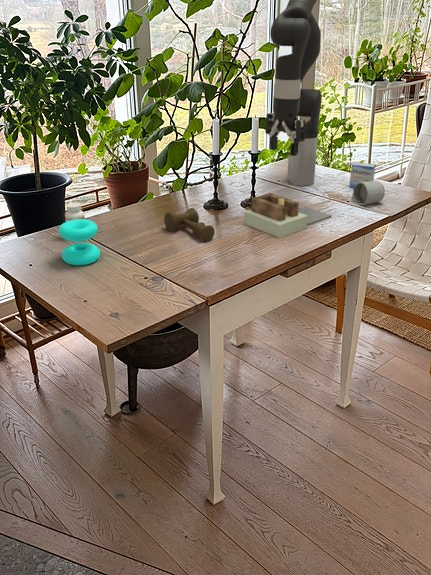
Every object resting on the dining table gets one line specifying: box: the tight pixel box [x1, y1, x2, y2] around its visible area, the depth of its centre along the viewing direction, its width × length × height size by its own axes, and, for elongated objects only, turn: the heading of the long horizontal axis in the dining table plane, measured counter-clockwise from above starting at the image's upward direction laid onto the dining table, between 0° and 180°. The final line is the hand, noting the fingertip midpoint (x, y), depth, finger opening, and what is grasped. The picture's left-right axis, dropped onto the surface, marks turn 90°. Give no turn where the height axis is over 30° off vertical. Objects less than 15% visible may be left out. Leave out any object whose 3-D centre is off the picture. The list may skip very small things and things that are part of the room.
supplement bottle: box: [64, 202, 85, 222], centre depth 169 cm, size 5×5×10 cm
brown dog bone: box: [163, 207, 215, 243], centre depth 174 cm, size 6×10×20 cm
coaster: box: [298, 206, 332, 226], centre depth 186 cm, size 11×11×1 cm
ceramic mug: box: [351, 180, 386, 206], centre depth 197 cm, size 11×8×8 cm
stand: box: [243, 198, 308, 239], centre depth 177 cm, size 15×12×9 cm
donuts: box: [58, 219, 101, 266], centre depth 155 cm, size 10×10×10 cm
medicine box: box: [348, 161, 376, 189], centre depth 211 cm, size 8×4×9 cm, turn 68°
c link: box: [250, 192, 300, 222], centre depth 177 cm, size 12×8×4 cm, turn 41°
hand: (283, 152), depth 173 cm, fingers open, 8 cm apart
